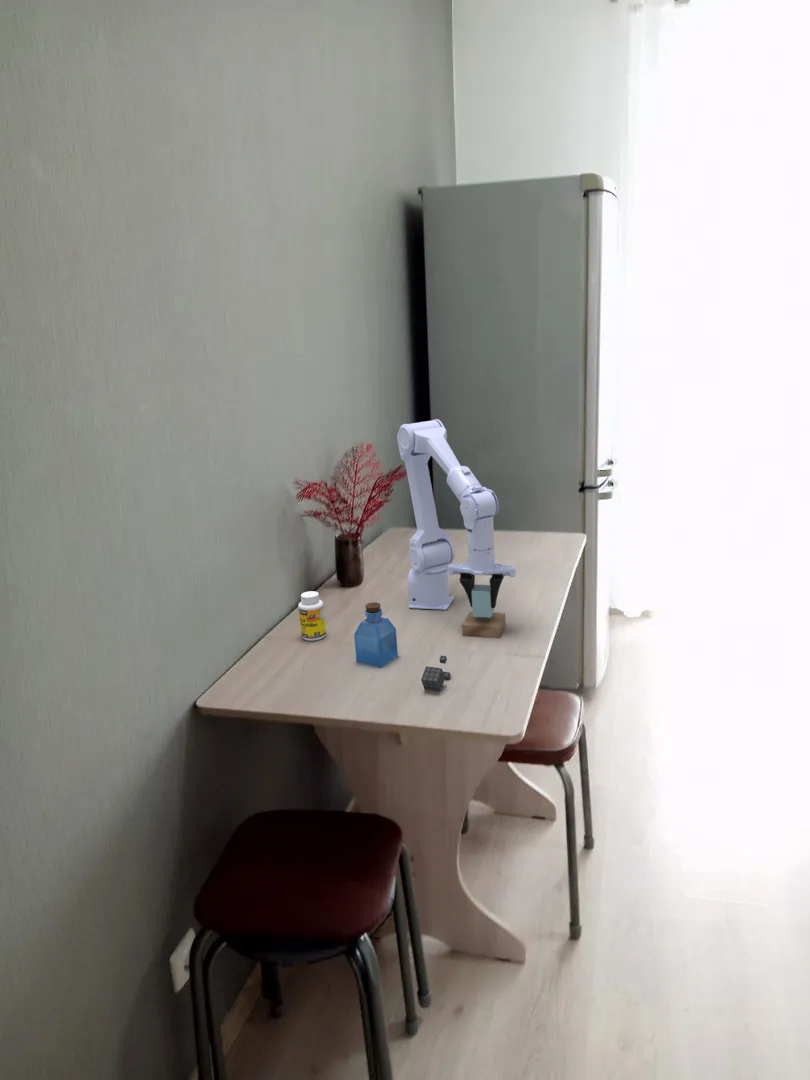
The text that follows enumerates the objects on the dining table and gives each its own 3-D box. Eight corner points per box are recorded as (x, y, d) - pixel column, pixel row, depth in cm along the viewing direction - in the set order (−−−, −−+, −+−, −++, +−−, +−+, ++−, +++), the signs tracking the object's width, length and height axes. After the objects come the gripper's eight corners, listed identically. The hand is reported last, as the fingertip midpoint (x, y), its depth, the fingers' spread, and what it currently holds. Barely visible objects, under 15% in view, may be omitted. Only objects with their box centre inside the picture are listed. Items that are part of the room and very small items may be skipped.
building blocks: (420, 679, 153) (433, 646, 158) (427, 697, 157) (439, 664, 162) (436, 681, 152) (448, 648, 157) (442, 699, 155) (454, 665, 161)
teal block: (472, 616, 178) (471, 590, 176) (476, 609, 182) (475, 584, 180) (490, 617, 177) (489, 591, 175) (494, 610, 180) (493, 585, 179)
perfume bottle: (381, 667, 165) (377, 612, 162) (356, 662, 169) (351, 608, 165) (397, 655, 170) (393, 602, 167) (373, 650, 174) (368, 598, 170)
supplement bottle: (297, 641, 181) (292, 597, 178) (307, 631, 186) (303, 589, 183) (320, 642, 180) (316, 599, 177) (330, 632, 185) (326, 590, 182)
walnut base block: (462, 637, 178) (461, 624, 177) (470, 623, 185) (470, 611, 184) (498, 640, 176) (498, 627, 175) (505, 625, 183) (505, 613, 182)
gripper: (443, 551, 173) (446, 611, 177) (511, 553, 169) (513, 614, 173) (451, 542, 180) (454, 599, 184) (516, 543, 176) (518, 602, 179)
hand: (483, 606), depth 179 cm, fingers closed on teal block, 4 cm apart
